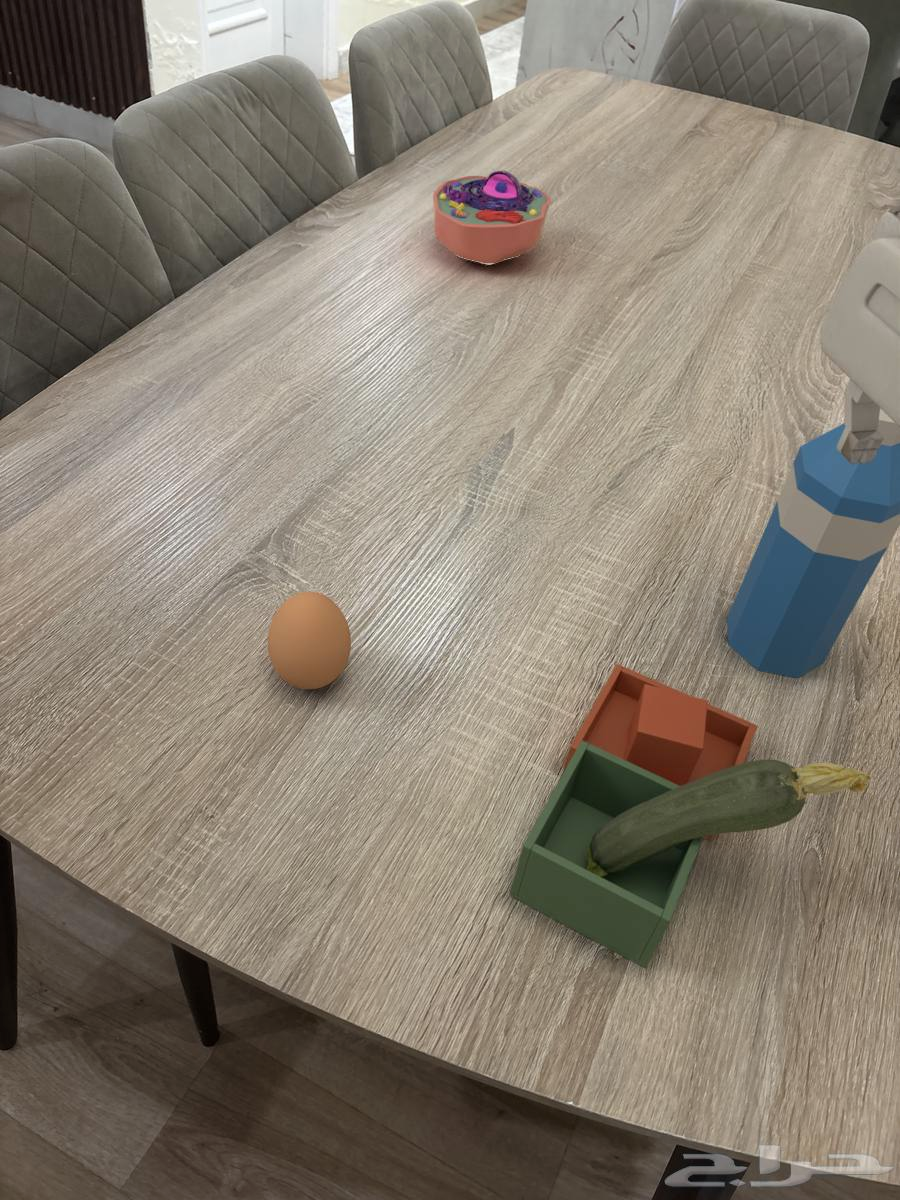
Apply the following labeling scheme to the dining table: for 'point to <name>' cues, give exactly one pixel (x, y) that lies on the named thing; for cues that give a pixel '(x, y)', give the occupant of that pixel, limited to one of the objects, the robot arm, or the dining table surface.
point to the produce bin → (558, 861)
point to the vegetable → (715, 809)
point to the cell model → (489, 216)
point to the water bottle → (817, 553)
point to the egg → (309, 640)
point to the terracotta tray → (617, 707)
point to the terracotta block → (667, 733)
